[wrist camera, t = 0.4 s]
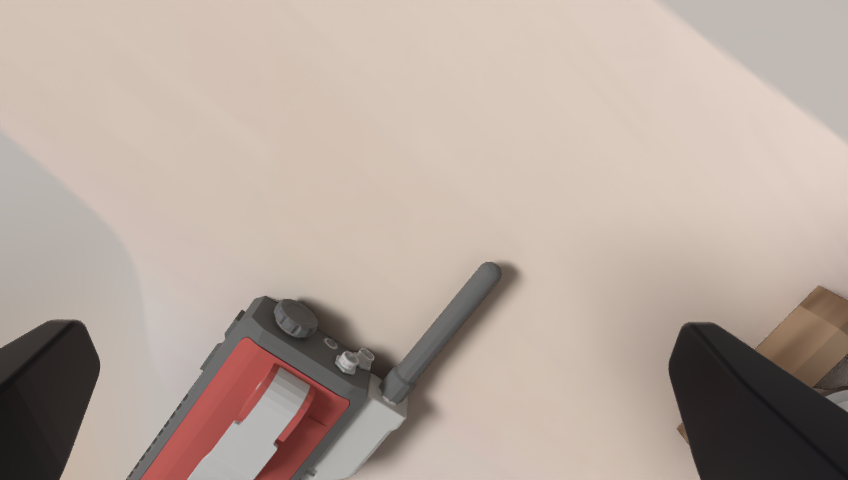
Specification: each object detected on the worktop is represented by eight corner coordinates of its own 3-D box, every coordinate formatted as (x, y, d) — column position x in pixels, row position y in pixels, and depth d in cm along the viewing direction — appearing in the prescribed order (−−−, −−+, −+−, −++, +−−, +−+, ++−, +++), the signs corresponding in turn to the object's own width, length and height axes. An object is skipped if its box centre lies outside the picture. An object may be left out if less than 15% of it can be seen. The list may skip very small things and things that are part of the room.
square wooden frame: (804, 517, 29) (839, 557, 27) (676, 428, 27) (701, 462, 25) (947, 390, 27) (998, 421, 25) (818, 285, 25) (861, 307, 23)
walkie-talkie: (274, 550, 30) (510, 268, 25) (251, 629, 25) (530, 307, 21) (127, 470, 28) (353, 153, 24) (77, 540, 24) (340, 170, 19)
